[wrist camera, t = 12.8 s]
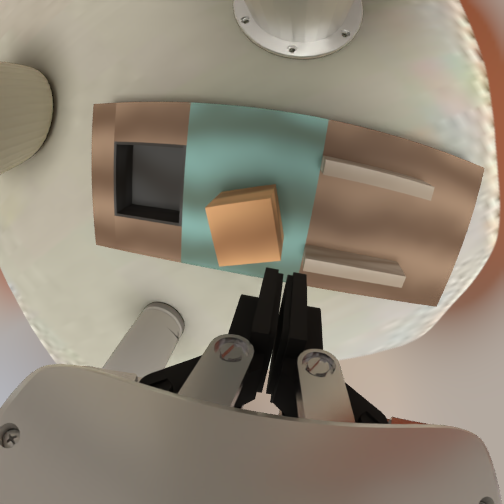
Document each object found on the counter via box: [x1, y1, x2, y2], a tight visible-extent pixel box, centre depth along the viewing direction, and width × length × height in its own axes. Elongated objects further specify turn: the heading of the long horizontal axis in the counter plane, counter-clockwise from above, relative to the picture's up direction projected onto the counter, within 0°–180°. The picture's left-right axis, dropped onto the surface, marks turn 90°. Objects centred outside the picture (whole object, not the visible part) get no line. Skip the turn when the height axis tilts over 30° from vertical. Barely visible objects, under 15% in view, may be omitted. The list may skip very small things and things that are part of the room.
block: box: [205, 184, 284, 267], centre depth 25 cm, size 5×5×5 cm
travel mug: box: [102, 303, 184, 377], centre depth 31 cm, size 6×7×20 cm
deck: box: [92, 102, 484, 306], centre depth 27 cm, size 16×40×7 cm, turn 83°
